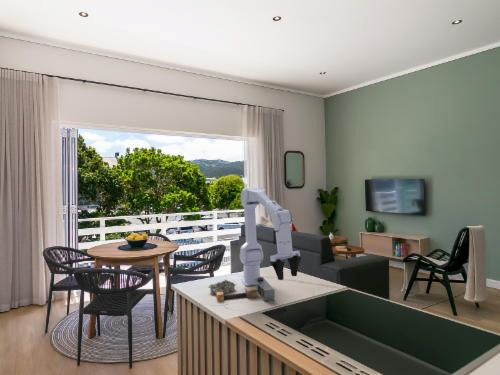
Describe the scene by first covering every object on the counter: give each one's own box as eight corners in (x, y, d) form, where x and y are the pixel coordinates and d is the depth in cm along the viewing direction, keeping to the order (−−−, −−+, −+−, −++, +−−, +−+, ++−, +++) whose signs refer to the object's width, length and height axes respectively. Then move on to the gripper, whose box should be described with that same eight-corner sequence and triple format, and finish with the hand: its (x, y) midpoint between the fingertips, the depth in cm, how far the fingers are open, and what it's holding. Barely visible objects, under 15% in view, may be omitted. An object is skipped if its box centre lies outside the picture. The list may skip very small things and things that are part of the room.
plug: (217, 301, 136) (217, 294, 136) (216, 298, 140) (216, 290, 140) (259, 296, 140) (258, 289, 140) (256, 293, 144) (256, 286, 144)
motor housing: (255, 289, 150) (254, 276, 150) (263, 288, 151) (263, 275, 150) (264, 301, 134) (264, 287, 134) (274, 300, 135) (274, 286, 135)
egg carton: (218, 297, 142) (217, 287, 142) (207, 293, 148) (206, 283, 147) (237, 290, 149) (237, 281, 149) (226, 287, 155) (226, 277, 155)
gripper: (278, 244, 124) (282, 282, 123) (304, 239, 134) (308, 275, 133) (265, 244, 129) (268, 280, 128) (290, 239, 139) (294, 273, 138)
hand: (287, 277), depth 131 cm, fingers open, 7 cm apart
